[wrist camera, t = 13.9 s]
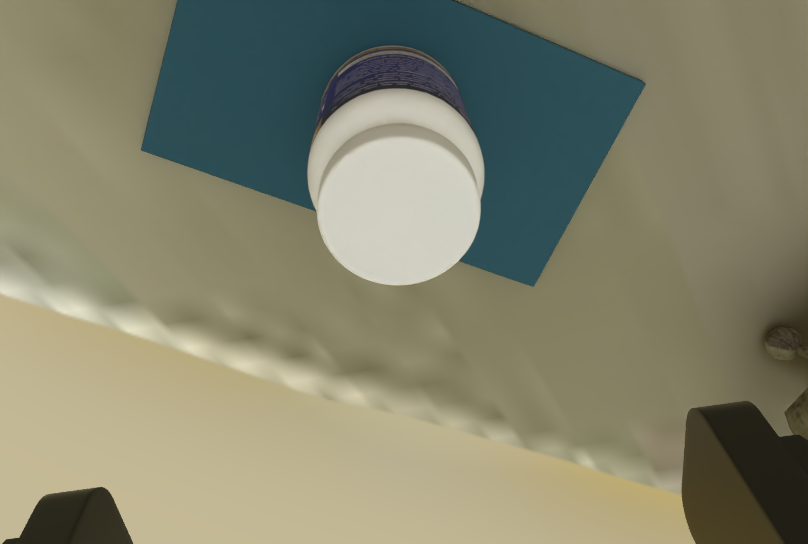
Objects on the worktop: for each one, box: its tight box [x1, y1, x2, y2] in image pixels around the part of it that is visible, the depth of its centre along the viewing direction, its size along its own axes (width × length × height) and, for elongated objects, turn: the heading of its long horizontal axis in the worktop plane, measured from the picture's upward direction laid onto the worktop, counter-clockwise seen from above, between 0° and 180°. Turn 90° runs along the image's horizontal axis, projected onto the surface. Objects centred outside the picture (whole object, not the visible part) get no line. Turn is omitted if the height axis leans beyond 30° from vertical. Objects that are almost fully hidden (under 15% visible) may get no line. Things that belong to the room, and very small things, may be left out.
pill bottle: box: [307, 45, 484, 285], centre depth 25 cm, size 6×6×10 cm
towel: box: [141, 0, 645, 287], centre depth 29 cm, size 18×10×1 cm, turn 68°
